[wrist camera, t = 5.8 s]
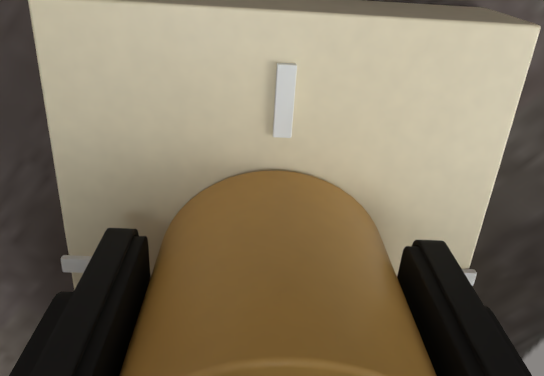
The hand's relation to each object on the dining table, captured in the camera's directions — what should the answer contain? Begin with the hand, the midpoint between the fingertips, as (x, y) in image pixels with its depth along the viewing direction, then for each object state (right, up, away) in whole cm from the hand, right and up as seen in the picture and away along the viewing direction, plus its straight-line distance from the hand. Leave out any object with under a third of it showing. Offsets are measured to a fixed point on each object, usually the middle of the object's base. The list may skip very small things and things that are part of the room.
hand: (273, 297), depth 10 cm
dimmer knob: (0, 0, +1) cm, 1 cm away
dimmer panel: (0, +2, +3) cm, 4 cm away
